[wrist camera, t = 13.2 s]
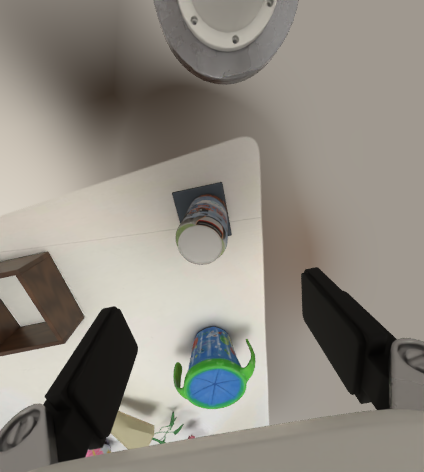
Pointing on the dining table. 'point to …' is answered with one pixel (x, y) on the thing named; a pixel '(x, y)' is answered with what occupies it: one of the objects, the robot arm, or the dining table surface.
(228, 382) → the snack cup
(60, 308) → the open wooden box
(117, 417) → the flower vase
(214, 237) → the beverage can
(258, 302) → the dining table surface
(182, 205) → the mat
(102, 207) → the dining table surface
